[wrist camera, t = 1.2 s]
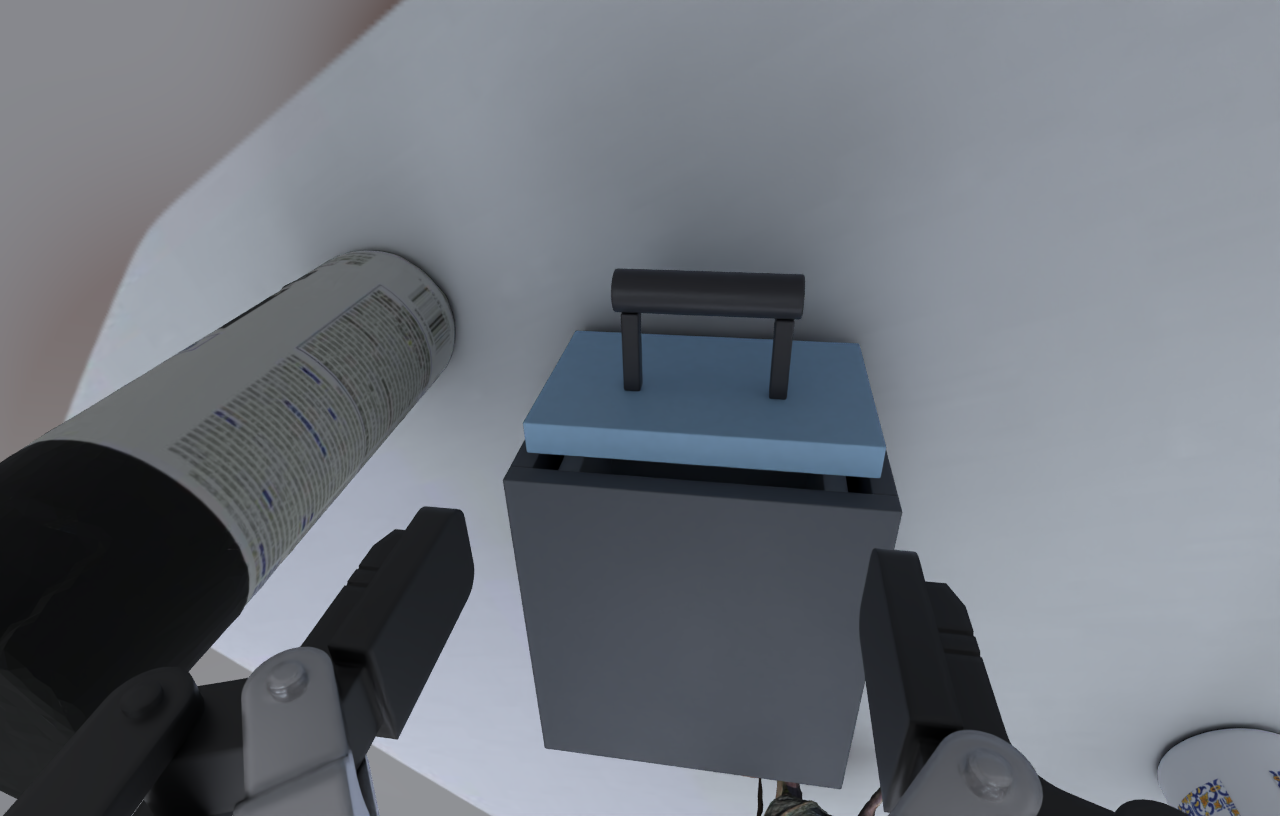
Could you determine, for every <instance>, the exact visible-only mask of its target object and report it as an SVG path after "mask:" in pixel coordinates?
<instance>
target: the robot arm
mask: <svg viewBox="0 0 1280 816" xmlns="http://www.w3.org/2000/svg"><path fill="white" fill-rule="evenodd" d="M473 580H474V563H473V558H472V553H471V547H470V542H469V537H468V532H467V527H466V522H465V517H464V514H463V512H462V511H461V510H459V509H449V508H438V507H427V506H425V507H422V508H421V509H420V510H419V511H418V512H417V514H416V515H415V517H414V518H413V520H412V521H411V523H410V524H409V526H408V527H407V529H406V530H398V529H395V530H393V531H392V532H391V533H389V534H388V535H387V536H385V537H384V538H383V539H381V540H380V541H379V542H377V543H376V544H375V545H373V547H372V548H371V549H370V551H369V552H368V554H367V555H366V556H365V558H364V559H363V560H362V562H361V563H360V565H359V569H356V570H355V572H354V573H353V574H352V576H351V577H350V579H349V580H348V581H347V582H348V583H347V586H344V587H343V588H342V590H341V591H340V592H339V594H338V595H337V597H336V598H335V599H334V601H333V602H332V604H331V605H330V606H329V608H328V609H327V611H326V612H325V613H324V615H323V616H322V617H321V619H320V620H319V622H318V623H317V624H316V626H315V627H314V629H313V630H312V631H311V633H310V634H309V636H308V637H307V638H306V640H305V641H304V643H303V644H302V645H301V646H300V647H298V648H292V649H289V650H286V651H283V652H281V653H278V654H276V655H274V656H273V657H271V658H269V659H268V660H266V661H265V662H263V663H262V664H261V665H260V666H259V667H257V668H256V669H255V671H254V672H253V673H252V674H251V675H250V676H249V678H245V679H239V680H234V681H227V682H221V683H215V684H209V685H203V686H197V685H196V683H195V681H194V680H193V678H192V676H191V675H190V673H189V672H188V671H186V670H185V669H182V668H179V667H161V668H156V669H152V670H149V671H146V672H143V673H141V674H139V675H137V676H135V677H133V678H131V679H129V680H128V681H126V682H125V683H123V684H122V685H120V686H119V687H118V688H116V689H115V690H114V691H113V692H112V693H111V694H110V695H109V696H108V697H107V698H106V699H105V700H104V701H103V702H102V703H101V704H100V705H99V707H98V708H97V709H96V710H95V711H94V712H93V713H92V715H91V716H90V717H89V718H88V719H87V720H86V721H85V723H84V724H83V725H82V726H81V727H80V728H79V729H78V731H77V732H76V733H75V734H74V735H73V736H72V737H71V739H70V740H69V741H68V742H67V743H66V744H65V745H64V747H63V748H62V749H61V750H60V751H59V752H58V753H57V755H56V756H55V757H54V758H53V759H52V760H51V762H50V763H49V764H48V765H47V766H46V767H45V768H44V770H43V771H42V772H41V773H40V774H39V775H38V776H37V778H36V779H35V780H34V781H33V782H32V783H31V784H30V786H29V787H28V788H27V789H26V790H25V791H24V792H23V794H22V795H21V796H20V797H19V798H18V799H17V800H16V802H15V803H14V804H13V805H12V806H11V807H10V809H9V810H8V811H7V812H6V813H5V814H4V815H3V816H131V815H132V814H133V813H134V814H133V815H132V816H232V815H233V816H380V815H379V810H378V805H377V800H376V795H375V790H374V785H373V780H372V775H371V770H370V766H369V761H368V758H367V755H366V753H367V752H368V750H369V748H370V746H371V744H372V742H373V740H374V738H375V737H376V736H377V737H384V738H391V739H398V738H399V736H400V734H401V732H402V730H403V728H404V726H405V724H406V722H407V720H408V718H409V716H410V714H411V712H412V710H413V708H414V706H415V704H416V702H417V700H418V698H419V696H420V694H421V692H422V690H423V688H424V686H425V684H426V682H427V680H428V678H429V676H430V674H431V672H432V670H433V668H434V666H435V664H436V662H437V660H438V658H439V656H440V654H441V652H442V650H443V648H444V646H445V644H446V642H447V640H448V638H449V636H450V634H451V632H452V630H453V628H454V626H455V624H456V622H457V620H458V618H459V615H460V613H461V611H462V609H463V607H464V605H465V603H466V601H467V599H468V597H469V595H470V592H471V589H472V585H473ZM973 632H974V631H973V628H972V625H971V622H970V619H969V616H968V613H967V610H966V607H965V605H964V604H963V603H962V602H961V601H960V599H959V598H958V597H957V596H956V595H955V593H954V592H953V591H952V590H951V589H950V587H949V586H948V585H947V584H946V583H936V582H925V579H924V575H923V572H922V568H921V564H920V560H919V557H918V555H917V553H916V552H912V551H900V550H889V549H878V548H874V549H873V550H872V553H871V556H870V561H869V566H868V571H867V576H866V581H865V586H864V591H863V596H862V601H861V606H860V615H859V637H860V645H861V652H862V659H863V667H864V674H865V681H866V688H867V695H868V702H869V709H870V716H871V723H872V730H873V737H874V744H875V751H876V758H877V766H878V773H879V780H880V787H881V794H882V801H883V808H884V812H889V813H890V814H889V815H888V816H1189V815H1188V814H1186V813H1184V812H1182V811H1180V810H1178V809H1176V808H1174V807H1172V806H1169V805H1167V804H1164V803H1161V802H1157V801H1153V800H1144V799H1142V800H1132V801H1129V802H1126V803H1124V804H1123V805H1121V806H1120V807H1119V808H1118V809H1117V810H1116V812H1113V811H1111V810H1108V809H1106V808H1103V807H1101V806H1099V805H1096V804H1094V803H1091V802H1089V801H1087V800H1084V799H1082V798H1079V797H1077V796H1075V795H1072V794H1070V793H1067V792H1065V791H1063V790H1061V789H1059V788H1057V787H1055V786H1054V785H1052V784H1050V783H1049V782H1047V781H1045V780H1044V779H1043V778H1041V777H1040V776H1039V775H1037V773H1036V771H1035V769H1034V768H1033V766H1032V765H1031V763H1030V762H1029V761H1028V760H1027V759H1026V757H1025V756H1024V755H1023V754H1022V753H1021V752H1019V751H1018V750H1017V749H1016V748H1015V747H1013V746H1012V745H1011V743H1010V741H1009V739H1008V736H1007V734H1006V731H1005V727H1004V724H1003V721H1002V718H1001V715H1000V712H999V709H998V706H997V703H996V700H995V696H994V693H993V690H992V687H991V684H990V681H989V678H988V675H987V672H986V669H985V665H984V662H983V659H982V657H980V650H979V647H978V644H977V641H976V638H975V637H974V636H973ZM143 799H144V800H143ZM142 800H143V801H142ZM141 802H142V803H141ZM140 803H141V804H140ZM139 804H140V805H139ZM138 806H139V807H138ZM137 807H138V808H137ZM136 809H137V810H136ZM135 810H136V811H135ZM134 811H135V812H134Z"/></svg>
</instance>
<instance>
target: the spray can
mask: <svg viewBox="0 0 1280 816" xmlns="http://www.w3.org/2000/svg"><path fill="white" fill-rule="evenodd" d="M454 335H455V324H454V319H453V315H452V311H451V308H450V306H449V303H448V300H447V297H446V296H445V294H444V293H443V292H442V291H441V290H440V289H439V288H438V287H437V285H436V284H435V283H434V282H433V281H432V280H431V279H430V278H429V276H428V275H427V274H425V273H424V272H423V271H422V270H421V269H419V268H418V267H417V266H415V265H413V264H412V263H410V262H408V261H407V260H405V259H404V258H402V257H400V256H398V255H396V254H391V253H386V252H381V251H355V252H349V253H345V254H342V255H339V256H337V257H335V258H333V259H331V260H329V261H327V262H326V263H324V264H322V265H320V266H319V267H317V268H316V269H314V270H313V271H311V272H309V273H308V274H306V275H304V276H303V277H301V278H299V279H298V280H296V281H294V282H292V283H289V284H287V285H285V286H284V287H283V288H282V289H281V290H280V291H279V292H277V293H276V294H274V295H272V296H270V297H269V298H267V299H266V300H264V301H262V302H261V303H259V304H258V305H256V306H254V307H253V308H251V309H250V310H248V311H246V312H245V313H243V314H241V315H240V316H238V317H237V318H235V319H233V320H232V321H230V322H228V323H227V324H225V325H223V326H222V327H220V328H219V329H217V330H215V331H214V332H212V333H210V334H209V335H207V336H205V337H204V338H202V339H200V340H199V341H197V342H195V343H194V344H192V345H191V346H189V347H187V348H186V349H184V350H182V351H181V352H179V353H178V354H176V355H174V356H173V357H171V358H169V359H168V360H166V361H164V362H163V363H161V364H159V365H158V366H156V367H155V368H153V369H152V370H150V371H148V372H147V373H145V374H144V375H142V376H140V377H138V378H137V379H135V380H133V381H132V382H130V383H128V384H127V385H125V386H123V387H122V388H120V389H118V390H117V391H115V392H114V393H112V394H110V395H109V396H107V397H106V398H104V399H102V400H101V401H99V402H97V403H96V404H94V405H92V406H91V407H89V408H88V409H86V410H84V411H83V412H81V413H79V414H78V415H76V416H74V417H73V418H71V419H69V420H68V421H66V422H64V423H62V424H61V425H59V426H57V427H56V428H54V429H52V430H50V431H49V432H47V433H45V434H44V435H42V436H41V437H39V438H38V439H36V440H35V441H33V442H32V443H30V444H29V445H27V446H26V447H24V448H23V449H21V450H20V451H18V452H17V453H15V454H13V455H12V456H10V457H8V458H7V459H5V460H4V461H2V462H1V463H0V791H2V792H4V793H6V794H8V795H10V796H12V797H14V798H17V799H18V798H19V797H20V796H21V795H22V794H23V792H24V791H25V790H26V789H27V788H28V787H29V786H30V784H31V783H32V782H33V781H34V780H35V779H36V778H37V776H38V775H39V774H40V773H41V772H42V771H43V770H44V768H45V767H46V766H47V765H48V764H49V763H50V762H51V760H52V759H53V758H54V757H55V756H56V755H57V753H58V752H59V751H60V750H61V749H62V748H63V747H64V745H65V744H66V743H67V742H68V741H69V740H70V739H71V737H72V736H73V735H74V734H75V733H76V732H77V731H78V729H79V728H80V727H81V726H82V725H83V724H84V723H85V721H86V720H87V719H88V718H89V717H90V716H91V715H92V713H93V712H94V711H95V710H96V709H97V708H98V707H99V705H100V704H101V703H102V702H103V701H104V700H105V699H106V698H107V697H108V696H109V695H110V694H111V693H112V692H113V691H114V690H115V689H116V688H118V687H119V686H120V685H122V684H123V683H125V682H126V681H128V680H129V679H131V678H133V677H135V676H137V675H139V674H141V673H143V672H146V671H149V670H152V669H156V668H161V667H179V668H182V669H185V670H186V671H188V672H189V670H190V669H191V668H192V667H193V666H194V665H195V664H196V662H197V661H198V660H199V659H200V658H201V657H202V656H203V655H204V654H205V653H206V651H207V650H208V649H209V648H210V647H211V646H212V645H213V644H214V643H215V641H216V640H217V639H218V638H219V637H220V636H221V635H222V634H223V632H224V631H225V630H226V629H227V628H228V627H229V626H230V625H231V624H232V623H233V622H234V620H235V619H236V618H237V617H238V616H239V615H240V614H241V612H242V610H243V609H244V607H245V605H246V604H247V603H248V602H249V601H250V600H251V598H252V597H253V596H254V595H255V594H256V593H257V592H258V591H259V589H260V588H261V587H262V586H263V585H264V584H265V582H266V581H267V580H268V578H269V577H270V576H271V575H272V573H273V572H274V571H275V570H276V569H277V567H278V566H279V565H280V564H281V563H282V561H283V560H284V559H285V558H286V557H287V556H288V555H289V554H290V553H291V552H292V550H293V549H294V548H295V546H296V545H297V544H298V543H299V542H300V541H301V539H302V538H303V537H304V536H305V535H306V533H307V532H308V531H309V530H310V529H311V527H312V526H313V525H314V524H315V523H316V521H317V520H318V519H319V518H320V517H321V516H322V514H323V513H324V512H325V511H326V510H327V508H328V507H329V506H330V505H331V504H332V503H333V501H334V500H335V499H336V498H337V497H338V496H339V494H340V493H341V492H342V491H343V490H344V488H345V487H346V486H347V485H348V484H349V482H350V481H351V480H352V479H353V478H354V477H355V475H356V474H357V473H358V472H359V471H360V469H361V468H362V467H363V466H364V465H365V464H366V462H367V461H368V460H369V459H370V458H371V457H372V455H373V454H374V453H375V452H376V450H377V449H378V448H379V447H380V446H381V445H382V443H383V442H384V441H385V440H386V439H387V438H388V436H389V435H390V434H391V433H392V432H393V430H394V429H395V428H396V427H397V426H398V424H399V423H400V422H401V421H402V420H403V419H404V418H405V416H406V415H407V414H408V413H409V411H410V410H411V409H412V408H413V407H414V405H415V404H416V403H417V402H418V401H419V399H420V398H421V397H422V396H423V395H424V394H425V392H426V391H427V390H428V389H429V388H430V386H431V385H432V384H433V383H434V382H435V380H436V379H437V378H438V377H439V376H440V374H441V373H442V372H443V370H444V369H445V368H446V366H447V364H448V362H449V360H450V357H451V355H452V352H453V348H454Z"/></svg>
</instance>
